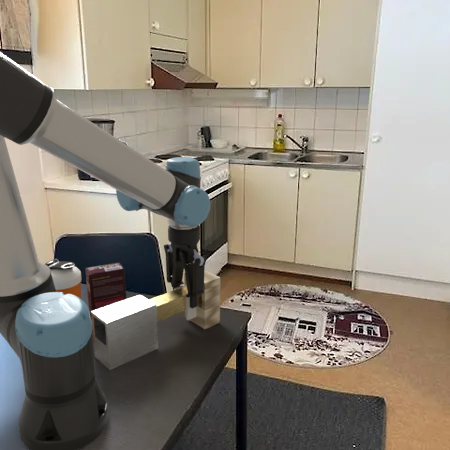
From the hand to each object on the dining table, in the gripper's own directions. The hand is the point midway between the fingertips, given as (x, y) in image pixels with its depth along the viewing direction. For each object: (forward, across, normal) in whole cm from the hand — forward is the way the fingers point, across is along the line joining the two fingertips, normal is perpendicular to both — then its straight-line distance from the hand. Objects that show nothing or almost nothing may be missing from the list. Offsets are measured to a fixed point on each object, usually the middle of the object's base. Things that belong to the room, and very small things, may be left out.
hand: (185, 314), depth 115 cm
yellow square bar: (-2, 0, +5) cm, 5 cm away
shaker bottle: (+4, +13, +25) cm, 28 cm away
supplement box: (+4, +13, +14) cm, 19 cm away
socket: (+4, 0, -6) cm, 7 cm away
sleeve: (+4, 0, +17) cm, 17 cm away
